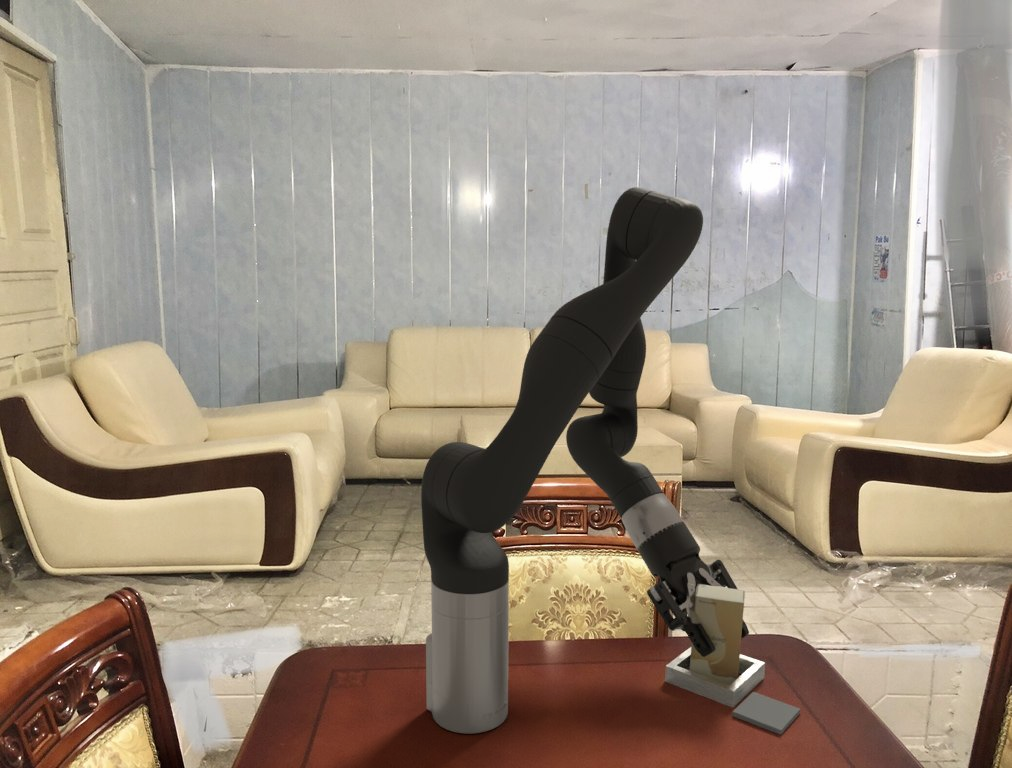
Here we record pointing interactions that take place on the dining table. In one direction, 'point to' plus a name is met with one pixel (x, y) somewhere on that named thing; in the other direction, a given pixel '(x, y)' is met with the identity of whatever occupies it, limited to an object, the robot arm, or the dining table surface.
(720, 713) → the dining table surface
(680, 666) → the grey square frame
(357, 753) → the dining table surface
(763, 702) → the pad
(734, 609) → the skincare box
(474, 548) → the robot arm
